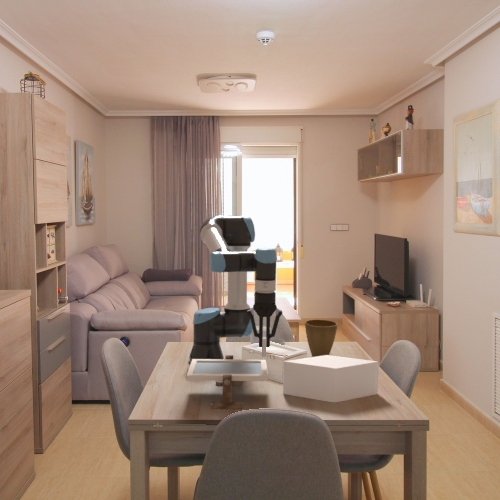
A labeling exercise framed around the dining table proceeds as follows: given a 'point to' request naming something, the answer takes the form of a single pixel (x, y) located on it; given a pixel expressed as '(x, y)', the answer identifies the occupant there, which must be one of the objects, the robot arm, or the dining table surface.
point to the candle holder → (256, 339)
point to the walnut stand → (227, 392)
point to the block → (330, 378)
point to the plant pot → (320, 336)
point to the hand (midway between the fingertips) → (264, 355)
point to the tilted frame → (227, 369)
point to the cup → (278, 341)
